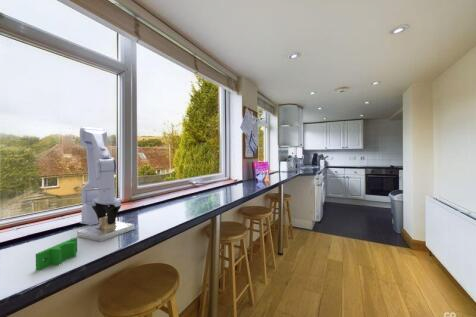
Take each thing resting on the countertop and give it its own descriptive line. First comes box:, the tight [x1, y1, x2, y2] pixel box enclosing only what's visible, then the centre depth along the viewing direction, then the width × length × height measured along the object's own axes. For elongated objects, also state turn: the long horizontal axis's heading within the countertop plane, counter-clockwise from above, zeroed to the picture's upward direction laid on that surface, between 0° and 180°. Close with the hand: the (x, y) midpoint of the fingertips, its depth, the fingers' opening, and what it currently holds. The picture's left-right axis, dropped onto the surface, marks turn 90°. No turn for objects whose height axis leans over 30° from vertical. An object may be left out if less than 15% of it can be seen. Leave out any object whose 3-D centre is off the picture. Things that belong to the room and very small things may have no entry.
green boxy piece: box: [35, 237, 78, 271], centre depth 60 cm, size 11×4×5 cm, turn 173°
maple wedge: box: [98, 215, 116, 231], centre depth 83 cm, size 4×4×6 cm
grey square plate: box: [76, 221, 135, 243], centre depth 82 cm, size 14×14×2 cm
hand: (106, 222), depth 82 cm, fingers open, 5 cm apart
